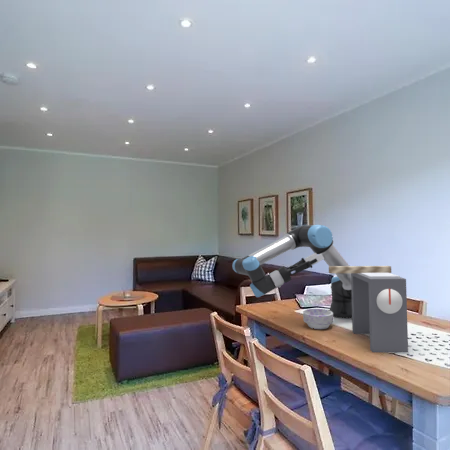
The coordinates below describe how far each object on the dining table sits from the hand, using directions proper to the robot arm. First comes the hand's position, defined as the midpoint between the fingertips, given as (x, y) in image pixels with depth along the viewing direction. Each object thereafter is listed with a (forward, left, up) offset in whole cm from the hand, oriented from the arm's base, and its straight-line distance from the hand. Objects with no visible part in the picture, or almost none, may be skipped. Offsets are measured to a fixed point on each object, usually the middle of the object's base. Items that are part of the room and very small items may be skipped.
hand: (319, 255), depth 162 cm
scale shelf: (+19, +15, -38) cm, 46 cm away
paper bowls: (-12, +10, -39) cm, 42 cm away
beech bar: (+11, +15, -8) cm, 20 cm away
